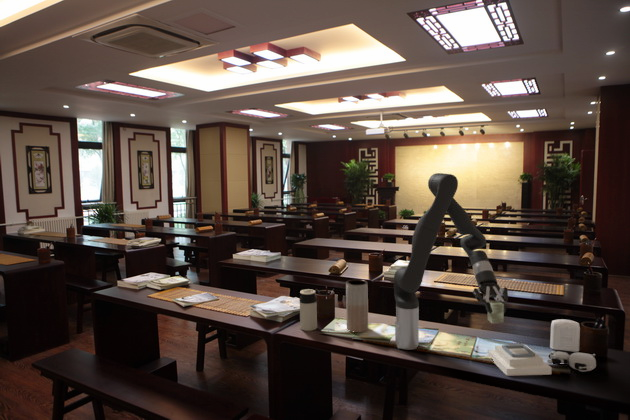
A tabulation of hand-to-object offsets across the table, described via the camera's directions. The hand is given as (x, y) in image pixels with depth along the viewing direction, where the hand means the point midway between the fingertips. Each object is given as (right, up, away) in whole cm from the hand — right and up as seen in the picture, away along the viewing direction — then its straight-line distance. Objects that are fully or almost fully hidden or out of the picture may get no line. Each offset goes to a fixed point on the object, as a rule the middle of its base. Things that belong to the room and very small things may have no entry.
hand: (497, 312), depth 161 cm
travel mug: (-74, -17, +37) cm, 84 cm away
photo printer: (+30, -17, +7) cm, 35 cm away
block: (0, -4, +2) cm, 4 cm away
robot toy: (+24, -19, -7) cm, 32 cm away
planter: (-51, -17, +34) cm, 64 cm away
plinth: (+5, -19, -5) cm, 20 cm away
